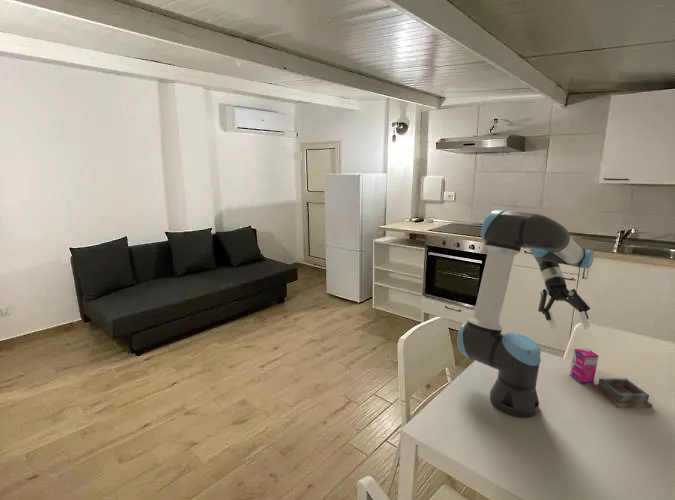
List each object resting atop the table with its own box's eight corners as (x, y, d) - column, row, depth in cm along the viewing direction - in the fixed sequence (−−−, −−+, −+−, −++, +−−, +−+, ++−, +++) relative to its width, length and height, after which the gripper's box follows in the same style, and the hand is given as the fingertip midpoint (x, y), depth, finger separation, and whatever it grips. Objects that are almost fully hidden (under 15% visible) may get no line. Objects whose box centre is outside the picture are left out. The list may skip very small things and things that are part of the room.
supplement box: (568, 375, 146) (573, 348, 143) (582, 374, 146) (587, 347, 144) (579, 383, 140) (584, 356, 137) (594, 383, 141) (599, 355, 138)
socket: (617, 407, 127) (619, 397, 126) (592, 386, 138) (594, 376, 137) (652, 407, 127) (654, 397, 126) (624, 386, 139) (626, 376, 138)
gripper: (577, 283, 164) (595, 330, 154) (521, 283, 164) (535, 331, 153) (587, 275, 158) (607, 324, 147) (529, 276, 157) (544, 324, 146)
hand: (570, 328), depth 150 cm, fingers open, 13 cm apart
